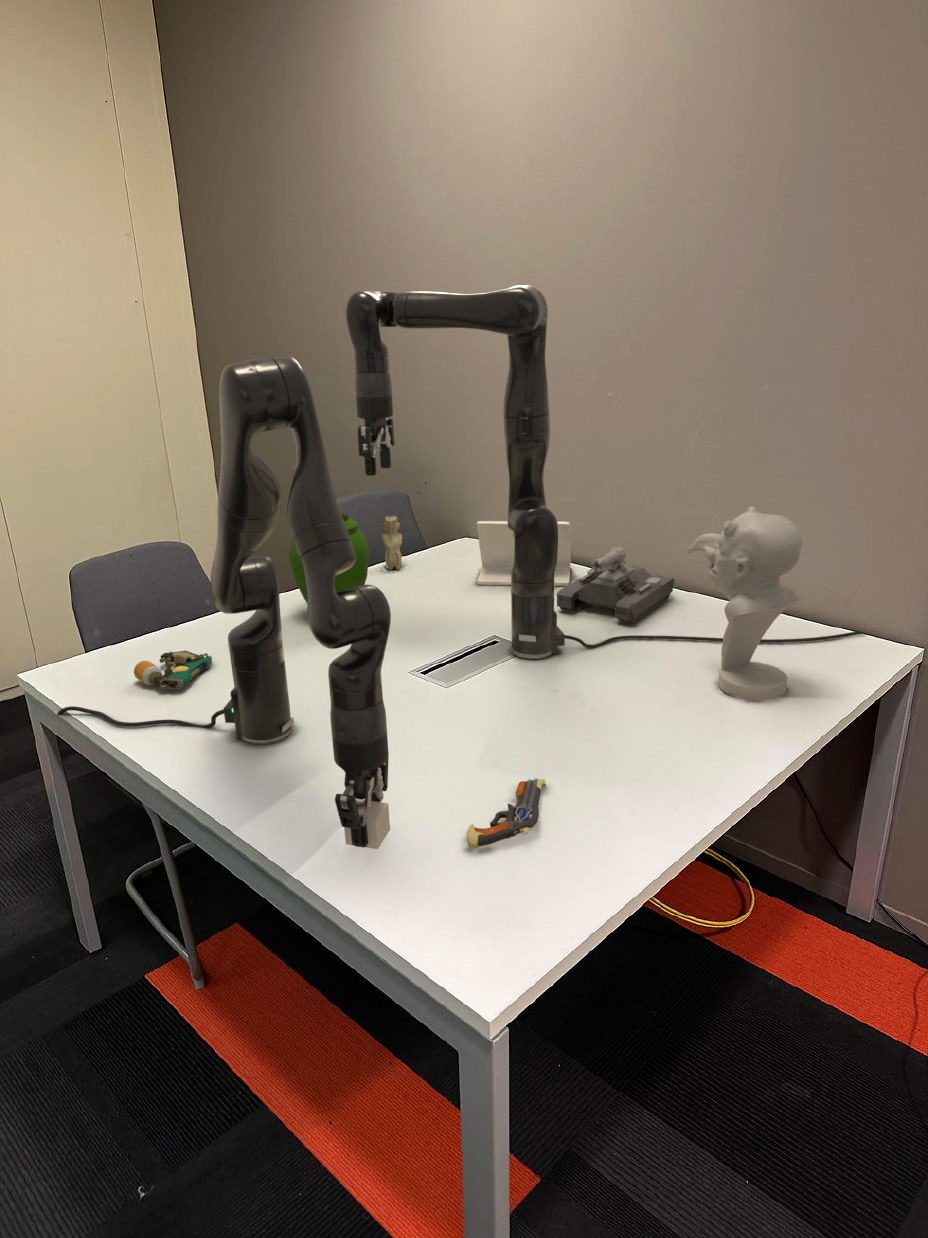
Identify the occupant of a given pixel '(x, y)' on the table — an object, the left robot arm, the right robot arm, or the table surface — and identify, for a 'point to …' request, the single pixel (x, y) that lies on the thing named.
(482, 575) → the tablet stand
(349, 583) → the vase
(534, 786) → the toy gun
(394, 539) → the sculpture
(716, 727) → the table surface
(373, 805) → the beige cube
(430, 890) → the table surface
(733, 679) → the bust sculpture
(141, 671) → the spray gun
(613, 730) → the table surface
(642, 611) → the toy
